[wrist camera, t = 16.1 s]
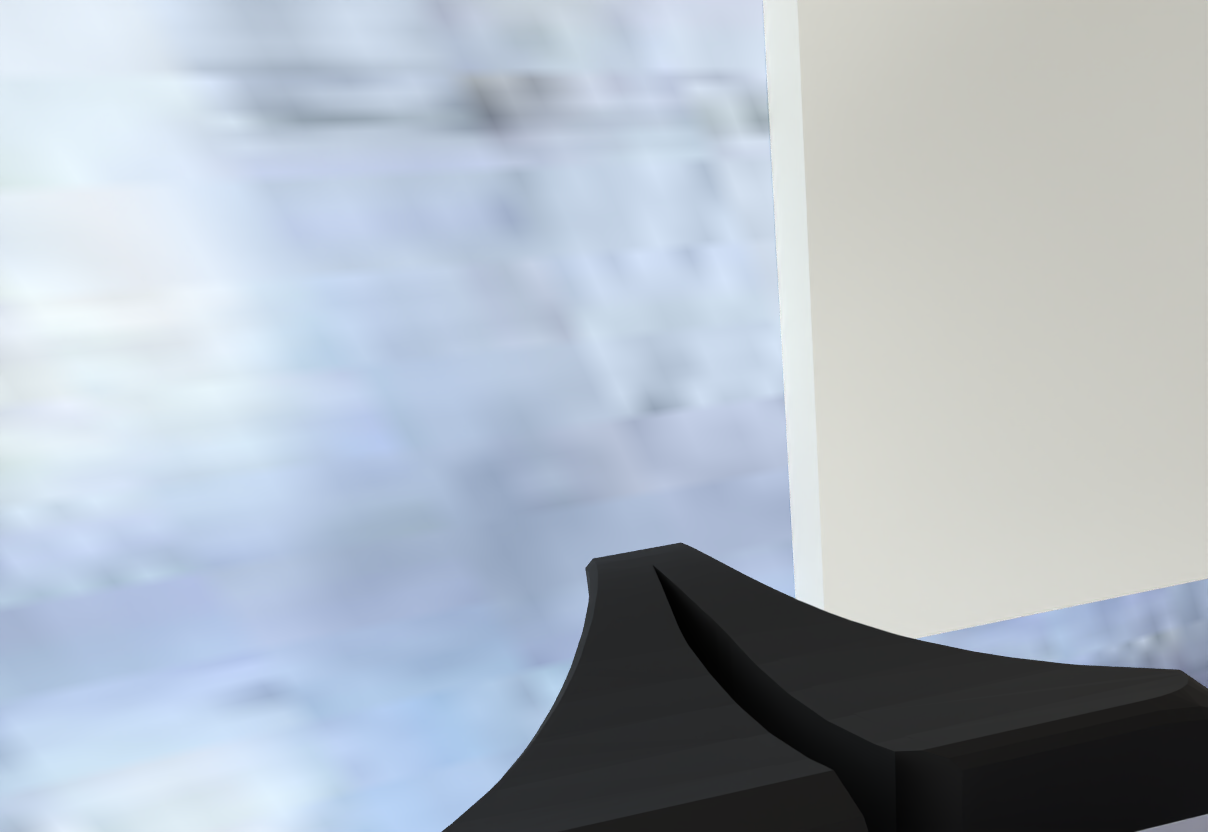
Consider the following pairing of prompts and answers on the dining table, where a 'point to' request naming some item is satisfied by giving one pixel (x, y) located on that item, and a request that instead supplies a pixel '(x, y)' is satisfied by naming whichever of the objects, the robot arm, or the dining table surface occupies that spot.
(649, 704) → the robot arm
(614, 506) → the dining table surface
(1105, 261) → the board
